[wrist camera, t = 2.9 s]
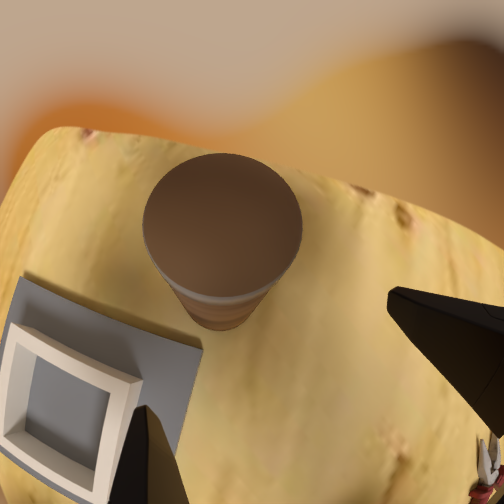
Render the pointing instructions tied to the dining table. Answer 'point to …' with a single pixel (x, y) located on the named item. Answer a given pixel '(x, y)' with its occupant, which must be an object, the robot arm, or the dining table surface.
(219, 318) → the brown upright cylinder
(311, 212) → the dining table surface
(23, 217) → the dining table surface
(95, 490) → the docking plate
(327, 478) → the dining table surface
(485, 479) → the pliers
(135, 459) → the robot arm
